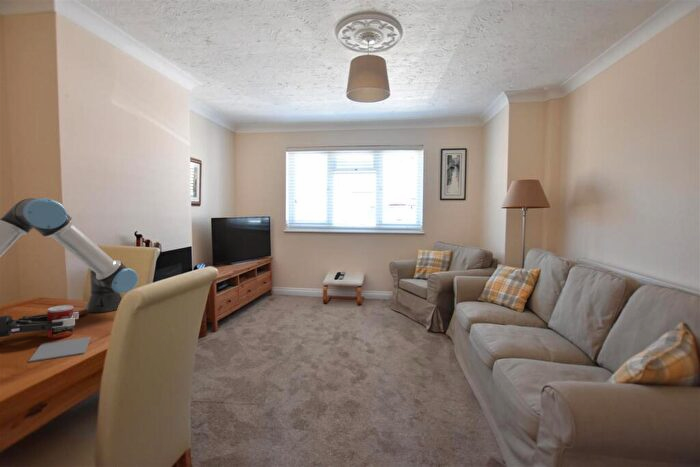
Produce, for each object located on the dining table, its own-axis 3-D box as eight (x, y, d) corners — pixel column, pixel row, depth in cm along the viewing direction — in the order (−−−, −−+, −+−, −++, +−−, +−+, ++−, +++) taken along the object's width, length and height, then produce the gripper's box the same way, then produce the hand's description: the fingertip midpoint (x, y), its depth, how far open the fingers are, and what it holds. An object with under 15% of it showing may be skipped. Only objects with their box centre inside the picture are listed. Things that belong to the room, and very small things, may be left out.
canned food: (51, 340, 122) (51, 311, 121) (44, 335, 126) (44, 307, 125) (77, 334, 128) (76, 307, 128) (69, 330, 132) (69, 303, 132)
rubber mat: (41, 344, 118) (41, 343, 118) (90, 338, 126) (90, 337, 125) (28, 362, 104) (28, 360, 104) (84, 353, 112) (84, 352, 112)
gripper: (5, 328, 126) (80, 320, 138) (-17, 347, 108) (71, 336, 121) (4, 309, 125) (80, 302, 138) (-18, 325, 108) (71, 316, 120)
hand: (76, 318), depth 129 cm, fingers closed on canned food, 8 cm apart
